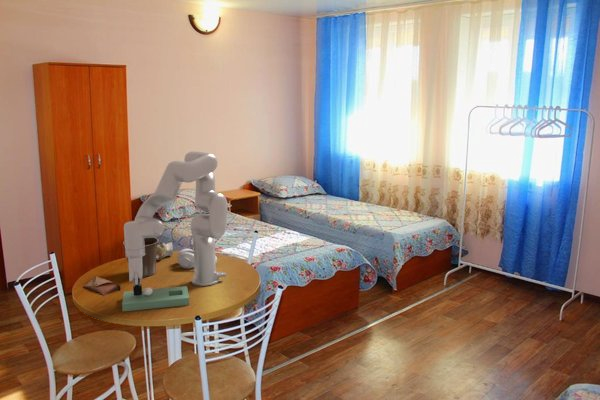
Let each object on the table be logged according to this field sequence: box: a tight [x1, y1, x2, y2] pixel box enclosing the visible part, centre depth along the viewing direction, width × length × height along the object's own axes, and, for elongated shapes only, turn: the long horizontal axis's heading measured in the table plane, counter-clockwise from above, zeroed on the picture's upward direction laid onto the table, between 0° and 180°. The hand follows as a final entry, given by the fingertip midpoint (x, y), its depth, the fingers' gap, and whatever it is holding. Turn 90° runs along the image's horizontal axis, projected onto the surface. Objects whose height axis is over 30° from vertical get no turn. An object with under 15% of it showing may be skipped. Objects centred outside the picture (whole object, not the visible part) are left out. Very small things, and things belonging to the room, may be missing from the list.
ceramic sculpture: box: [156, 241, 174, 261], centre depth 276 cm, size 11×9×15 cm
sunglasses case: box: [82, 275, 122, 296], centre depth 232 cm, size 18×7×7 cm, turn 54°
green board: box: [121, 285, 190, 313], centre depth 217 cm, size 26×14×3 cm, turn 105°
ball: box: [143, 286, 153, 296], centre depth 216 cm, size 4×4×4 cm
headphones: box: [177, 247, 218, 269], centre depth 265 cm, size 18×8×20 cm
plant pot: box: [122, 237, 160, 278], centre depth 250 cm, size 16×16×16 cm
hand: (138, 294), depth 215 cm, fingers closed
